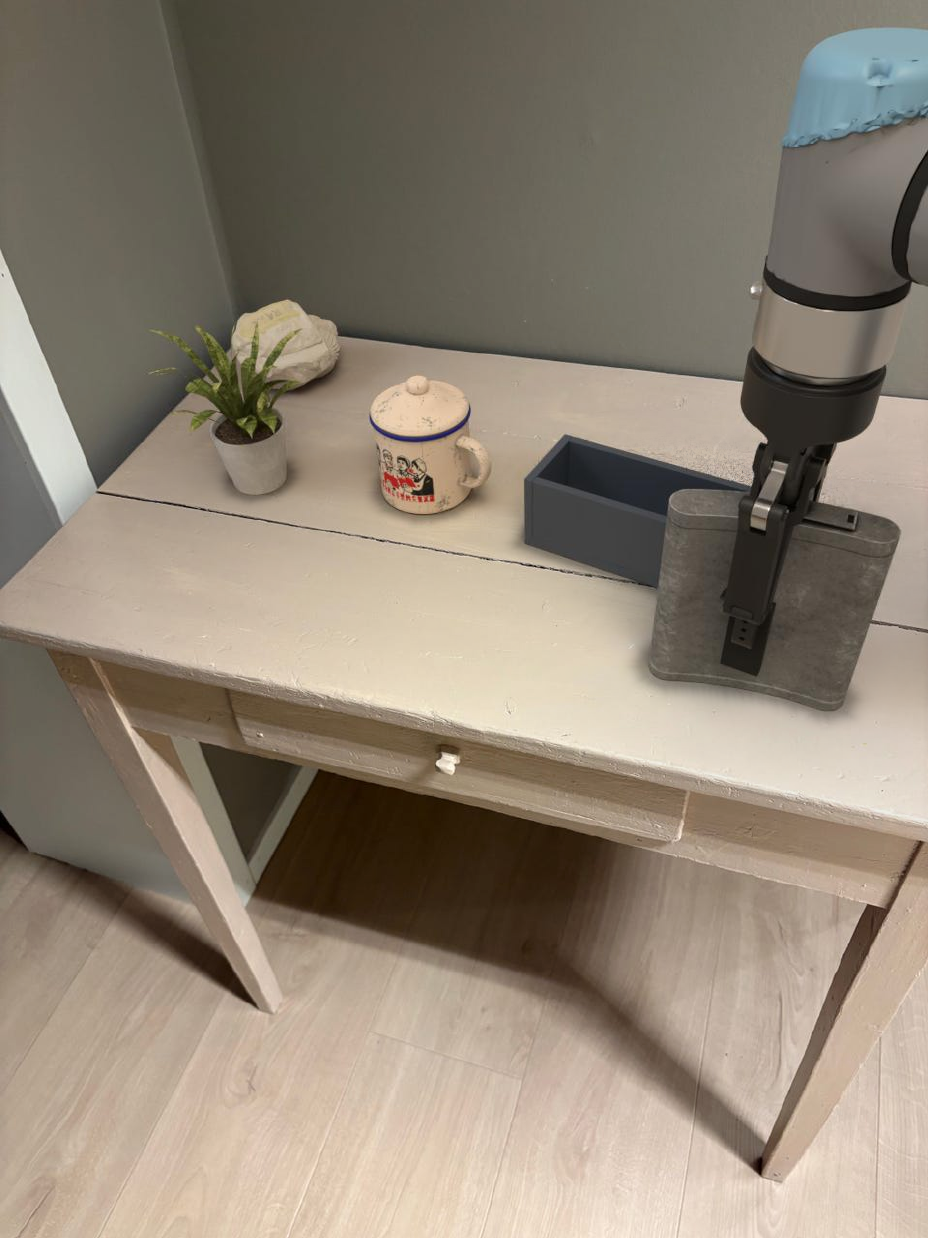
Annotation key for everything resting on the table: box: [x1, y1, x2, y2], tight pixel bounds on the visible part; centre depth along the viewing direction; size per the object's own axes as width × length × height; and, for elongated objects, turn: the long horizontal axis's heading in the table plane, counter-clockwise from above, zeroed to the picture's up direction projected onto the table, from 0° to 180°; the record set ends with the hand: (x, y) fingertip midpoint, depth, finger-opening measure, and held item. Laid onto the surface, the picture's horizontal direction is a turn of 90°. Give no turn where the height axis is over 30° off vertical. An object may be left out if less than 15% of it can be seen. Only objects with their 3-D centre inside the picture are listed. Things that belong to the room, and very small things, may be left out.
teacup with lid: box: [369, 375, 492, 515], centre depth 87 cm, size 12×9×12 cm
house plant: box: [148, 320, 304, 496], centre depth 88 cm, size 14×14×16 cm
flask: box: [648, 487, 902, 712], centre depth 66 cm, size 4×14×18 cm, turn 72°
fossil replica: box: [232, 299, 341, 391], centre depth 105 cm, size 12×8×10 cm
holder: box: [523, 433, 752, 589], centre depth 81 cm, size 18×8×7 cm, turn 59°
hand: (751, 644), depth 70 cm, fingers closed on flask, 4 cm apart
